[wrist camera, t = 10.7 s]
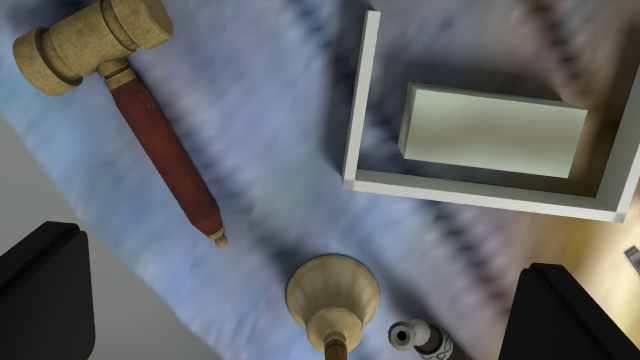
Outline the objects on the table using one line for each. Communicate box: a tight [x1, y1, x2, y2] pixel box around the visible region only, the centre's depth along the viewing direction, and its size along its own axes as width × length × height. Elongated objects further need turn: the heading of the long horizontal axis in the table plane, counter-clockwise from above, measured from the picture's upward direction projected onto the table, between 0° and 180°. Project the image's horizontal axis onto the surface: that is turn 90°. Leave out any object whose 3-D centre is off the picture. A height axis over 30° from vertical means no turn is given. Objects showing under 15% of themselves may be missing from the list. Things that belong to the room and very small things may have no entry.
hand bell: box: [286, 255, 380, 360], centre depth 36 cm, size 8×8×16 cm
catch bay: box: [341, 11, 640, 223], centre depth 37 cm, size 13×22×3 cm, turn 83°
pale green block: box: [397, 82, 588, 178], centre depth 37 cm, size 5×12×4 cm, turn 83°
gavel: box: [13, 0, 228, 248], centre depth 38 cm, size 21×5×10 cm
